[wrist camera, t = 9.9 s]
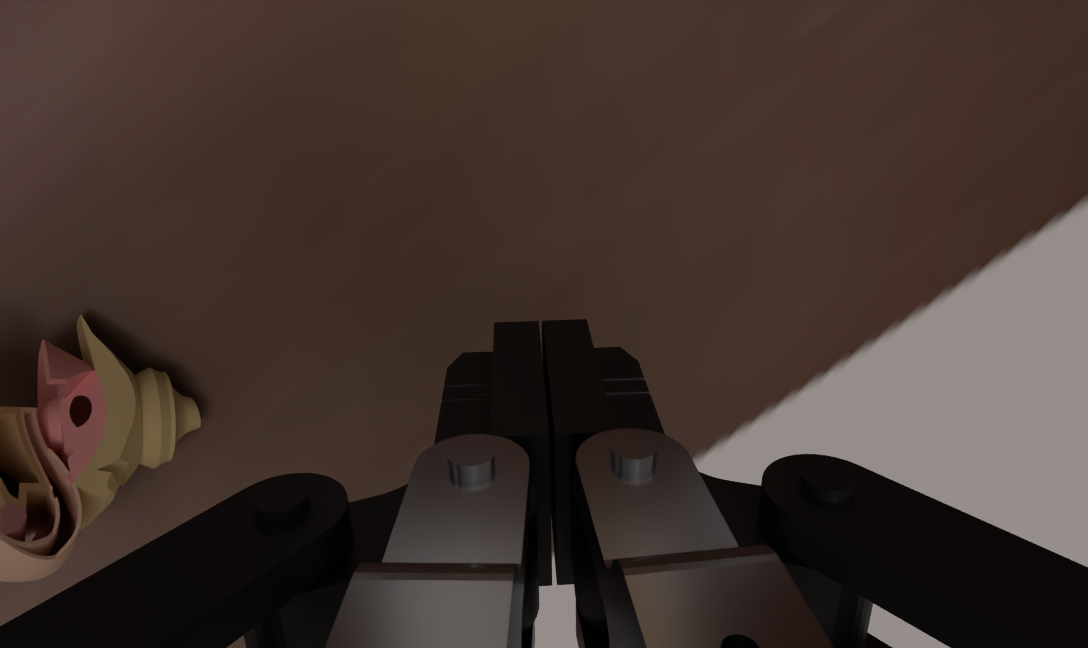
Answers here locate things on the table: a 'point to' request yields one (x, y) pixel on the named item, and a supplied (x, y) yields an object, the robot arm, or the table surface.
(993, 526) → the robot arm
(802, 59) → the table surface
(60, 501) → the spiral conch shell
